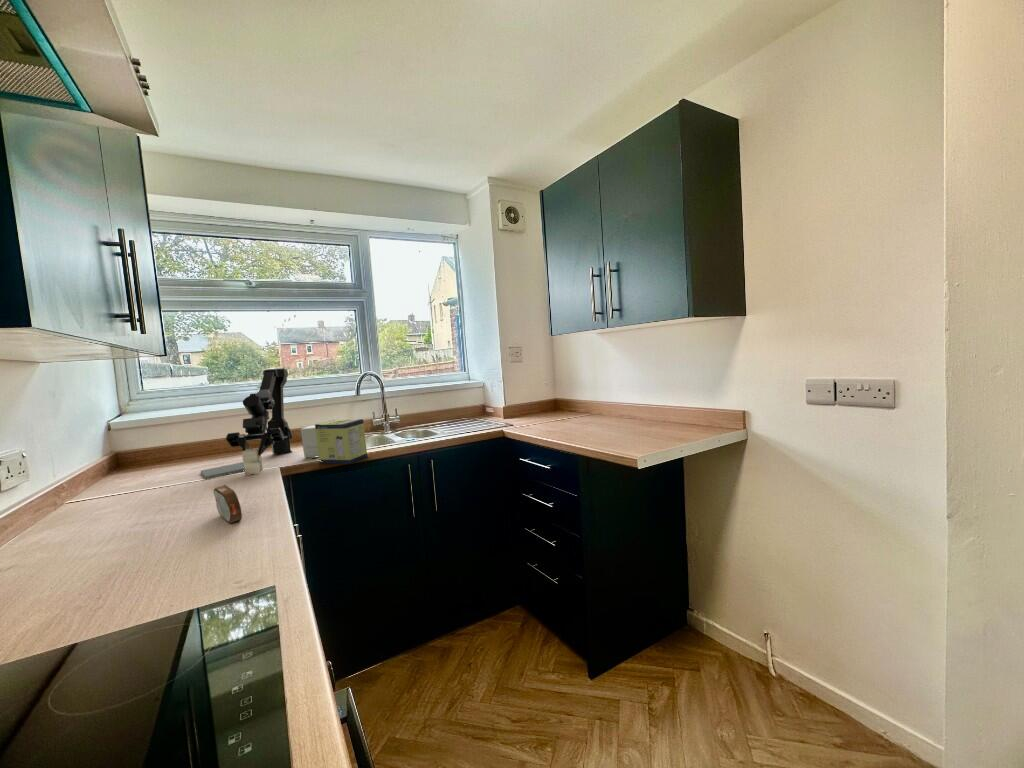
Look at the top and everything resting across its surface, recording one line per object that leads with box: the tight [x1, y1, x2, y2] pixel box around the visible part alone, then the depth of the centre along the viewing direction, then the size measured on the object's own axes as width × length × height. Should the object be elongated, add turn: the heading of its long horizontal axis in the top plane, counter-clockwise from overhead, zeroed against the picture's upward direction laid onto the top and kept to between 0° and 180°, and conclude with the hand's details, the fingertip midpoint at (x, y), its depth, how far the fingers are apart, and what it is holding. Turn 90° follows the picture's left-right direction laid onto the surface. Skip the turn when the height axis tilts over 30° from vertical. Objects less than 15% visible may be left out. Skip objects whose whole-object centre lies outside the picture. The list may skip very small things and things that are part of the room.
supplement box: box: [300, 424, 319, 458], centre depth 182 cm, size 7×7×13 cm
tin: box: [213, 484, 243, 524], centre depth 113 cm, size 15×3×8 cm, turn 47°
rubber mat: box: [200, 461, 244, 479], centre depth 167 cm, size 14×14×1 cm
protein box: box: [314, 418, 368, 465], centre depth 170 cm, size 10×16×16 cm
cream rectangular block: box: [241, 447, 264, 476], centre depth 160 cm, size 4×4×9 cm
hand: (252, 455), depth 160 cm, fingers closed on cream rectangular block, 4 cm apart
